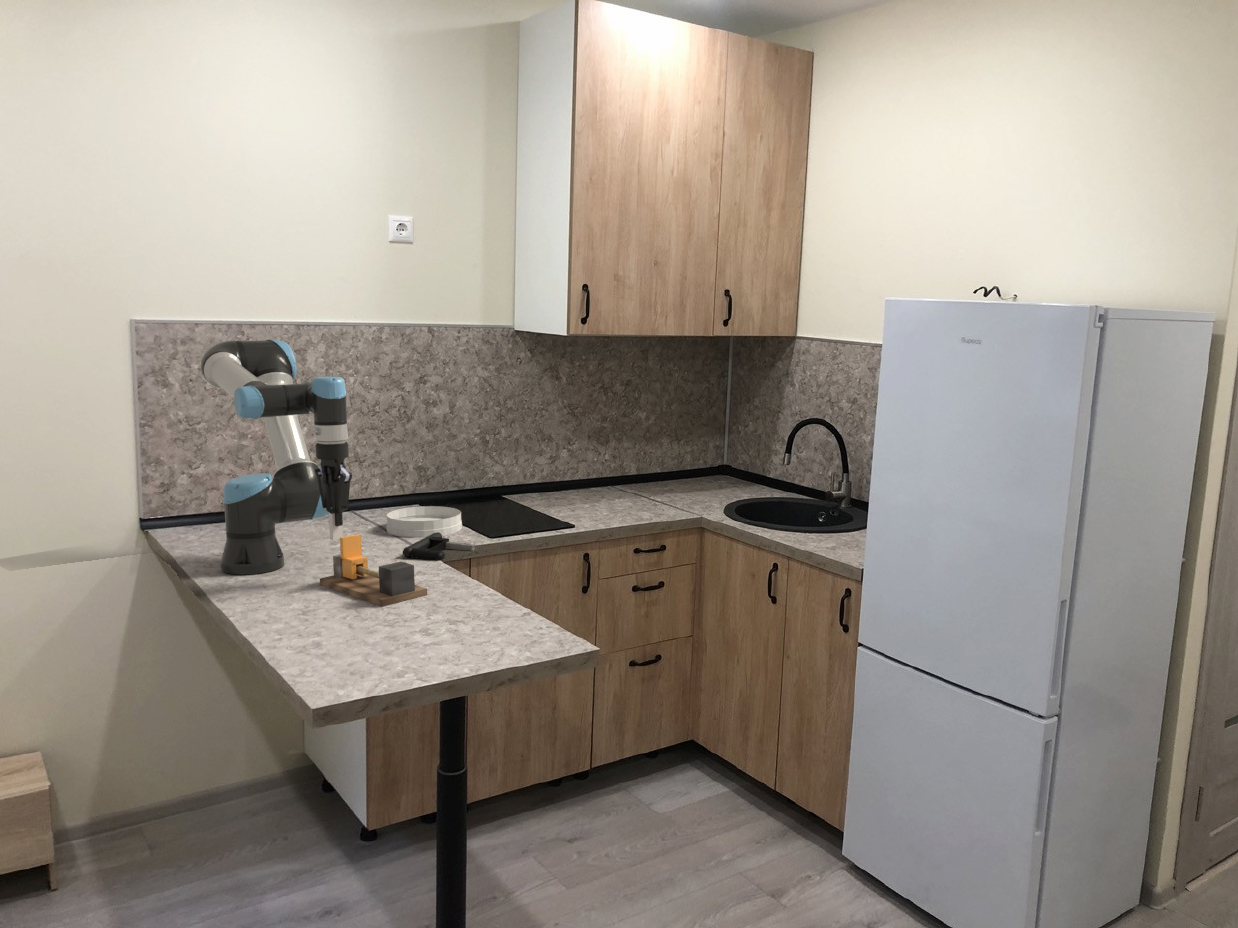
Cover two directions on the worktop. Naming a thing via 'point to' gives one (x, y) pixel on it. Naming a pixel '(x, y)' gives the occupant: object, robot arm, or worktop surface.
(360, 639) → the worktop surface
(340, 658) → the worktop surface
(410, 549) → the door handle
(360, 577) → the rail
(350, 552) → the orange sliding rod block
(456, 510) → the dish
